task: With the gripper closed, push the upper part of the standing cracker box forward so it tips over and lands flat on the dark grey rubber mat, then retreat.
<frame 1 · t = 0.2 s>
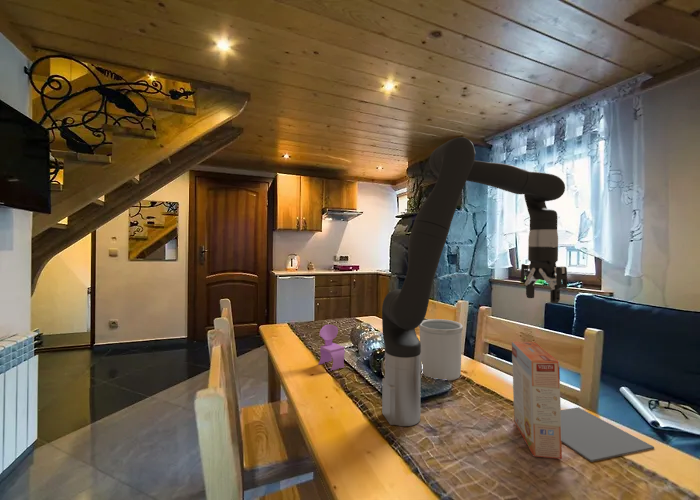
hand: (542, 300, 95), 29 cm above the table, tool pointing down, fingers open, 8 cm apart
utensil holder: (440, 373, 114), on the table
mat: (583, 431, 78), on the table
toy chair: (331, 366, 120), on the table
cracker box: (536, 440, 75), on the table, touching mat
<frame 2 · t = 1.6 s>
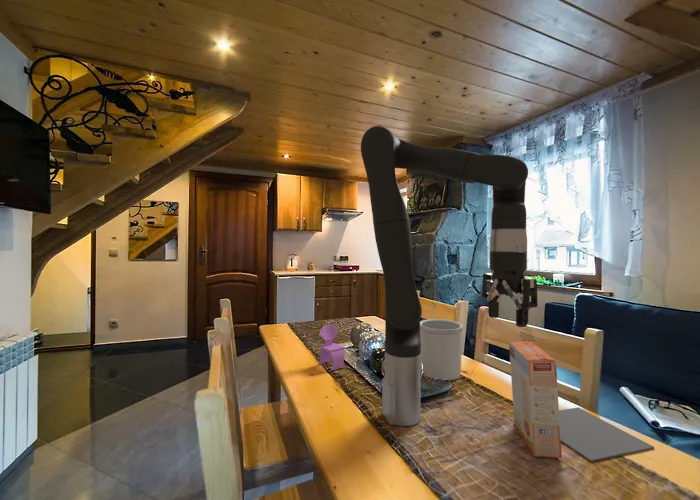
hand: (506, 321, 72), 28 cm above the table, tool pointing down, fingers open, 8 cm apart
nothing on the table moved.
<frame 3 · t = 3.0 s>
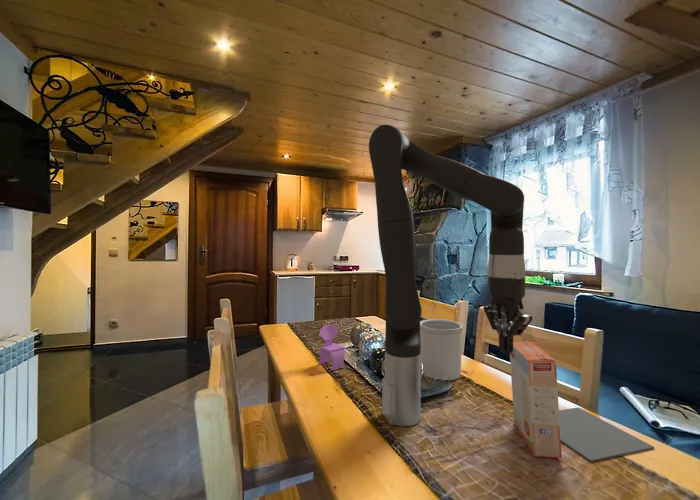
hand: (506, 351, 72), 21 cm above the table, tool pointing down, fingers closed
nothing on the table moved.
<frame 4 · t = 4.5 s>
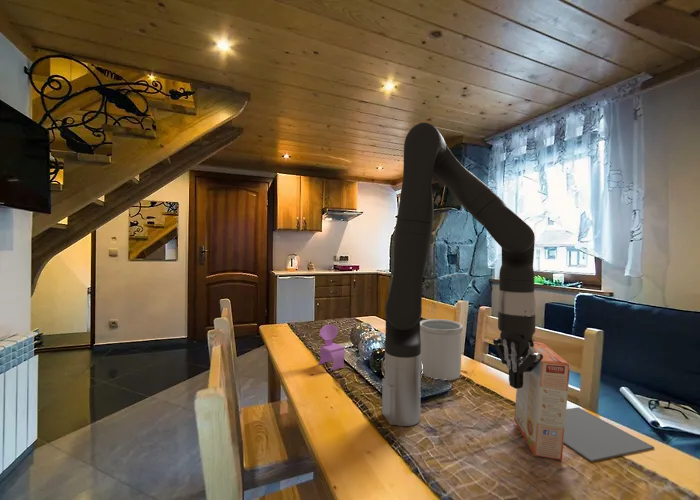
hand: (516, 386, 73), 13 cm above the table, tool pointing down, fingers closed
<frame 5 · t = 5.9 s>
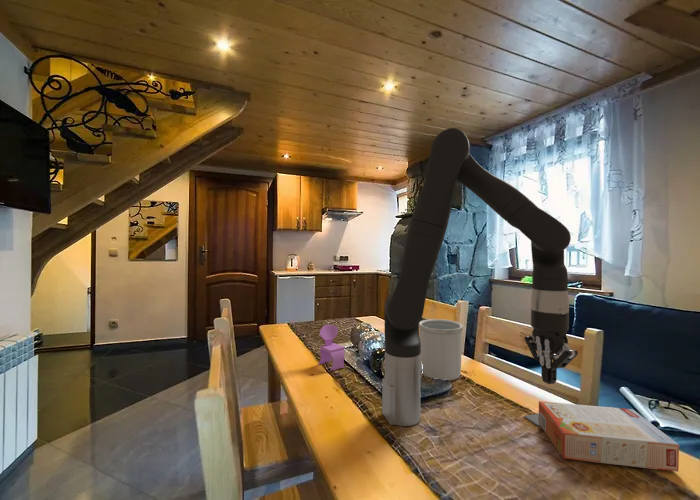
hand: (548, 382, 75), 13 cm above the table, tool pointing down, fingers closed
cracker box: (547, 427, 74), point 3 cm above the table, touching mat
everything else where it was.
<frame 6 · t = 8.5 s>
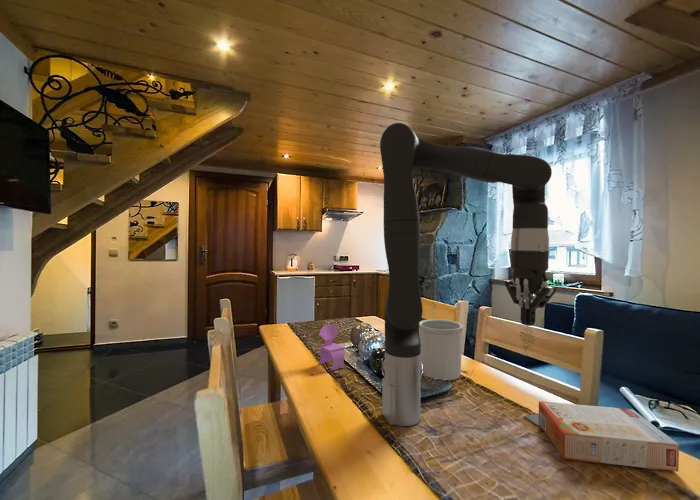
hand: (527, 324, 73), 27 cm above the table, tool pointing down, fingers closed
nothing on the table moved.
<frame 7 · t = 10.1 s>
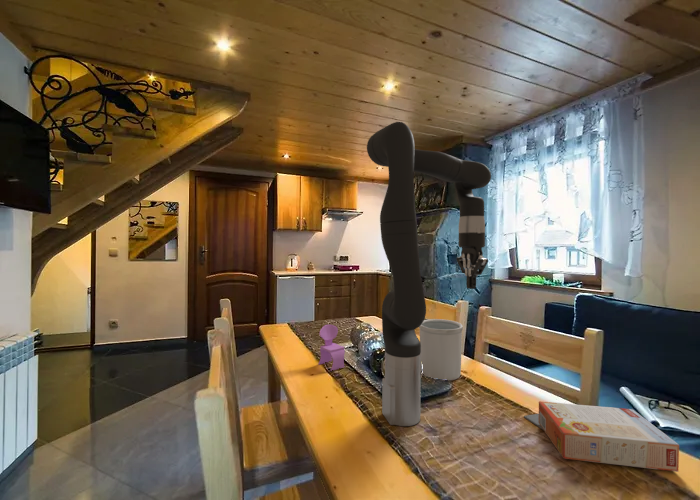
hand: (471, 288, 98), 32 cm above the table, tool pointing down, fingers closed
nothing on the table moved.
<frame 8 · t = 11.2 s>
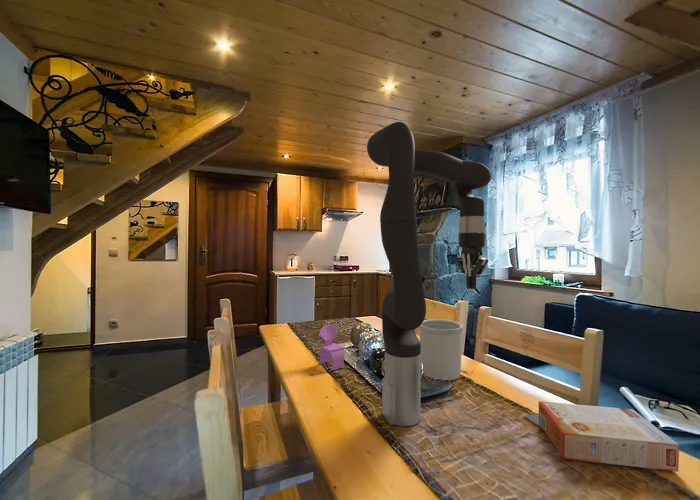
hand: (471, 288, 98), 32 cm above the table, tool pointing down, fingers closed
nothing on the table moved.
at the end: cracker box tilted 89°; cracker box inside the target area (5.9 cm from its centre), point 3.2 cm above the table; the gripper is holding nothing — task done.
